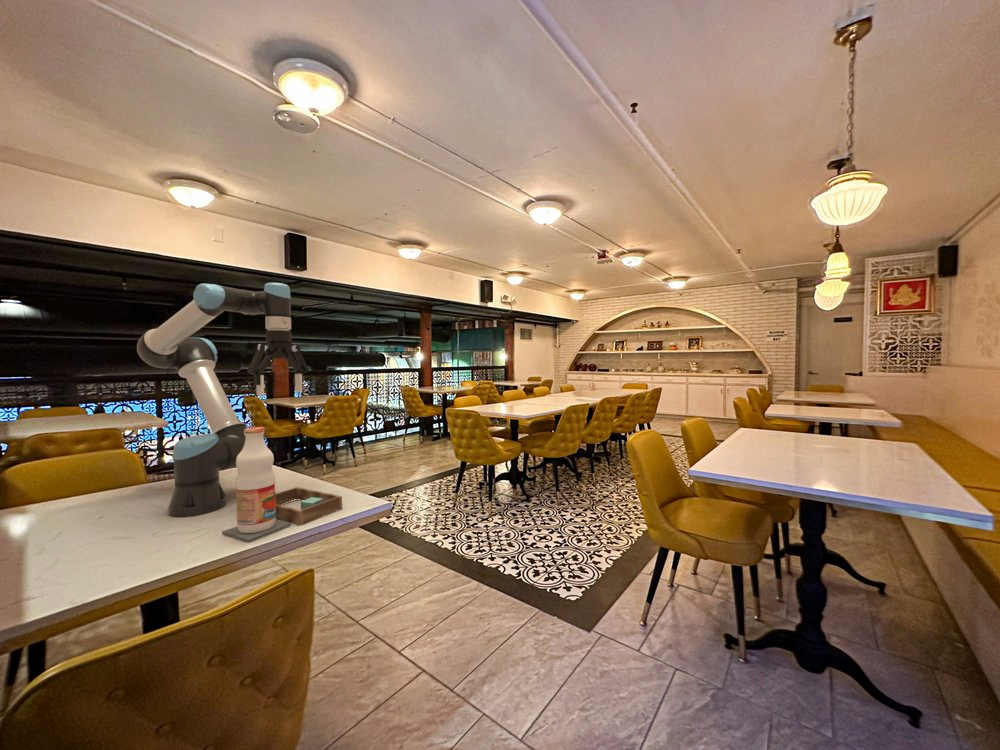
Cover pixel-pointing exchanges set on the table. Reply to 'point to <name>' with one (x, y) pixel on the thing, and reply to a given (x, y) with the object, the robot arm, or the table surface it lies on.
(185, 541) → the table surface
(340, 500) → the brown wooden tray
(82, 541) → the table surface
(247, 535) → the slate coaster
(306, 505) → the teal block
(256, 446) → the fruit juice
